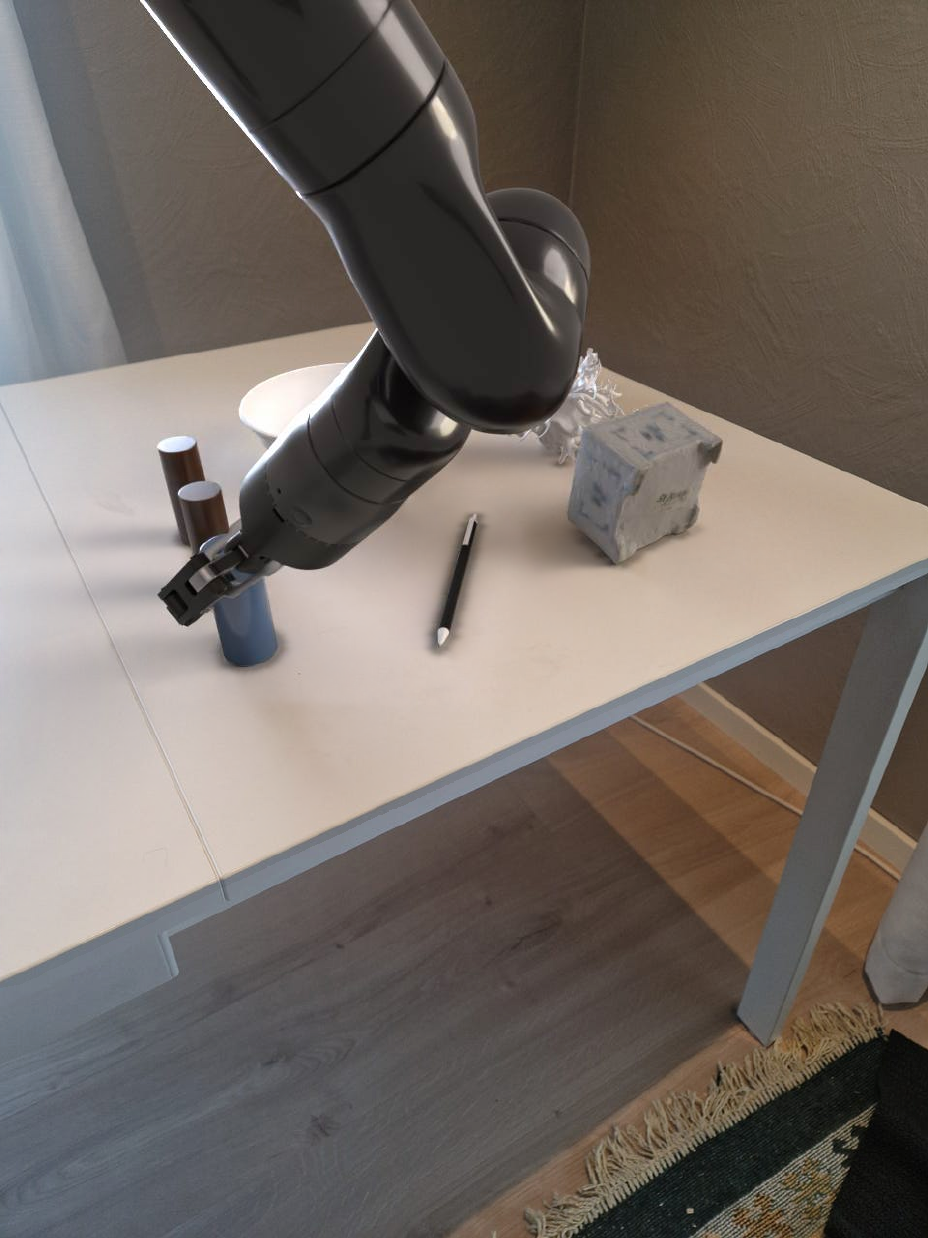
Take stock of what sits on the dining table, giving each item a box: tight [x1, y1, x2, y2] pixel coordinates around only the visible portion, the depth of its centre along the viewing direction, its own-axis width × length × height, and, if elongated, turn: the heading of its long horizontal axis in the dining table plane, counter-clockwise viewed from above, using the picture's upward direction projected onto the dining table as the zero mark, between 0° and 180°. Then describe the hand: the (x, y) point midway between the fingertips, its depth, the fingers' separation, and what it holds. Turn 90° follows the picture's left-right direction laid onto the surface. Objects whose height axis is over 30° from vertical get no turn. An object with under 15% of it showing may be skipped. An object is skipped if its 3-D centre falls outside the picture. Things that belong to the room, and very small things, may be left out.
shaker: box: [199, 534, 278, 667], centre depth 62 cm, size 4×4×9 cm
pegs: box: [157, 435, 230, 556], centre depth 72 cm, size 3×12×9 cm, turn 25°
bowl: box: [238, 362, 349, 451], centre depth 88 cm, size 20×20×6 cm
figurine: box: [506, 347, 649, 466], centre depth 87 cm, size 13×15×12 cm
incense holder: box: [566, 401, 724, 565], centre depth 74 cm, size 10×8×10 cm
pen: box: [437, 513, 478, 648], centre depth 72 cm, size 1×19×1 cm, turn 171°
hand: (226, 583), depth 62 cm, fingers open, 8 cm apart
